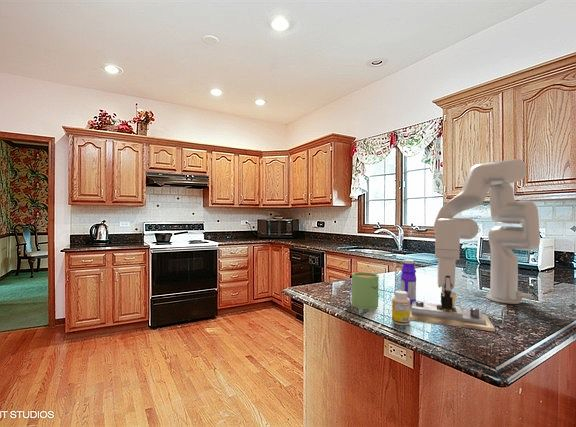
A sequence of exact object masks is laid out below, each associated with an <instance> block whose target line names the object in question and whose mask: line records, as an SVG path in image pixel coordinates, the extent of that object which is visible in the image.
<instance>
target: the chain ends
mask: <svg viewBox="0 0 576 427" xmlns="http://www.w3.org/2000/svg"><path fill="white" fill-rule="evenodd" d="M411 306H412V315H419V316H426V317H433V318H440V319H448V320H455V321H462V322H470V323H477V324H484V325H486V320H485V319H484V317H483V315H484V314H482V312H480V308H477V307H470V310H469V311H468V310H462V308H461V306H455V305H454V311H453V312H451V311H443V310H440V309H441V303H440V304H438V303H430V302H424V301H417V300H416V302H415V301H413V302H412V304H411Z"/></svg>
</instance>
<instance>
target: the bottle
mask: <svg viewBox="0 0 576 427" xmlns="http://www.w3.org/2000/svg"><path fill="white" fill-rule="evenodd" d="M400 271H401V275H400V284H401V285H400V291H405V292H407V293H408V297H407V298H409V299H410V305H412V302H413V301H415V302H417V294H416V293H417V275H416V273H417V270H416V268H415V260H414V259H407V258H405V259H403V265H402V268H401V270H400Z"/></svg>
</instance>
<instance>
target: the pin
mask: <svg viewBox="0 0 576 427" xmlns="http://www.w3.org/2000/svg"><path fill="white" fill-rule="evenodd" d="M442 296H443V295H442ZM456 296H457V292H455V291H452V298H453V301H452V310H451V309H443V308H442V302H441V301H440V305H441V309H440V310H443V311H451V312H453V311H454V306H455V303H456Z"/></svg>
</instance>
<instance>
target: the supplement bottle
mask: <svg viewBox="0 0 576 427" xmlns="http://www.w3.org/2000/svg"><path fill="white" fill-rule="evenodd" d="M407 297H408V293H407V292H405V291H401V290H395V291H394V296H393V297H392V300H391V301H392V302H391V304H392V305H391V307H392V308H391V313H392V314H391V317H392V318H391V319H392V322H393V324H396V325H398V326H408V325H410V323H411V319H410V306H411V304H410V299H409V298H407Z"/></svg>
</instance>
